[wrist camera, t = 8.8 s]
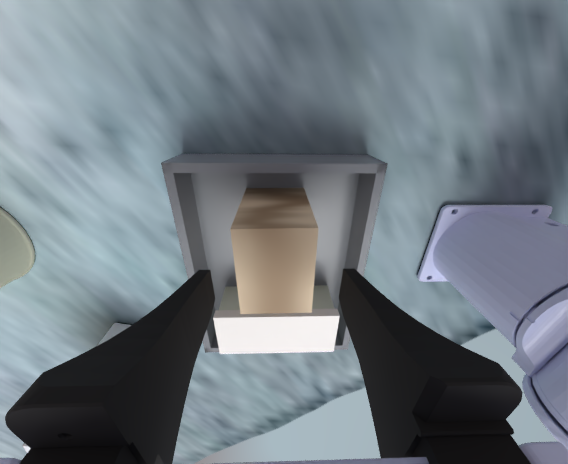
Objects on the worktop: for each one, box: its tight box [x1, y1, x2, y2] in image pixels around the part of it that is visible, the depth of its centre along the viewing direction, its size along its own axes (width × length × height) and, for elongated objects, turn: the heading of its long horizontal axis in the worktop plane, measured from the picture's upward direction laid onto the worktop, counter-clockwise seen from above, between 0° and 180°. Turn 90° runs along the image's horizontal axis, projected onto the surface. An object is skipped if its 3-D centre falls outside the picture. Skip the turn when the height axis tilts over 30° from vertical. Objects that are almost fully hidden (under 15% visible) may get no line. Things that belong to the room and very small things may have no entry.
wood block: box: [230, 188, 318, 314], centre depth 16 cm, size 4×6×7 cm
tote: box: [161, 154, 387, 352], centre depth 20 cm, size 14×18×4 cm
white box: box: [213, 285, 340, 354], centre depth 22 cm, size 10×5×4 cm, turn 89°
